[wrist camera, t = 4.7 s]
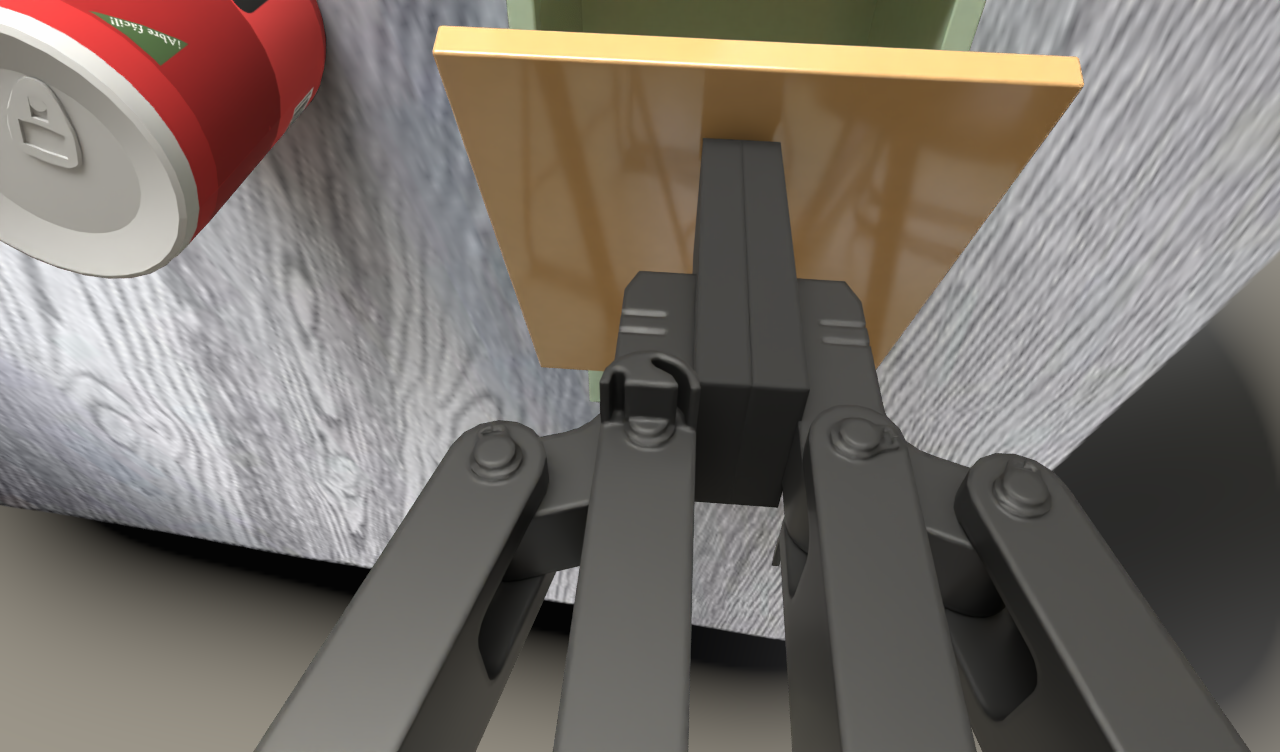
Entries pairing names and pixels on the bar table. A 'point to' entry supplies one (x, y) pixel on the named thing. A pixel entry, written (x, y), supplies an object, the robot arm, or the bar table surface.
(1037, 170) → the bar table surface
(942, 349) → the bar table surface
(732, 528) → the bar table surface
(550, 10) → the toilet
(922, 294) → the toilet lid
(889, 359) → the bar table surface
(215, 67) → the canned food
